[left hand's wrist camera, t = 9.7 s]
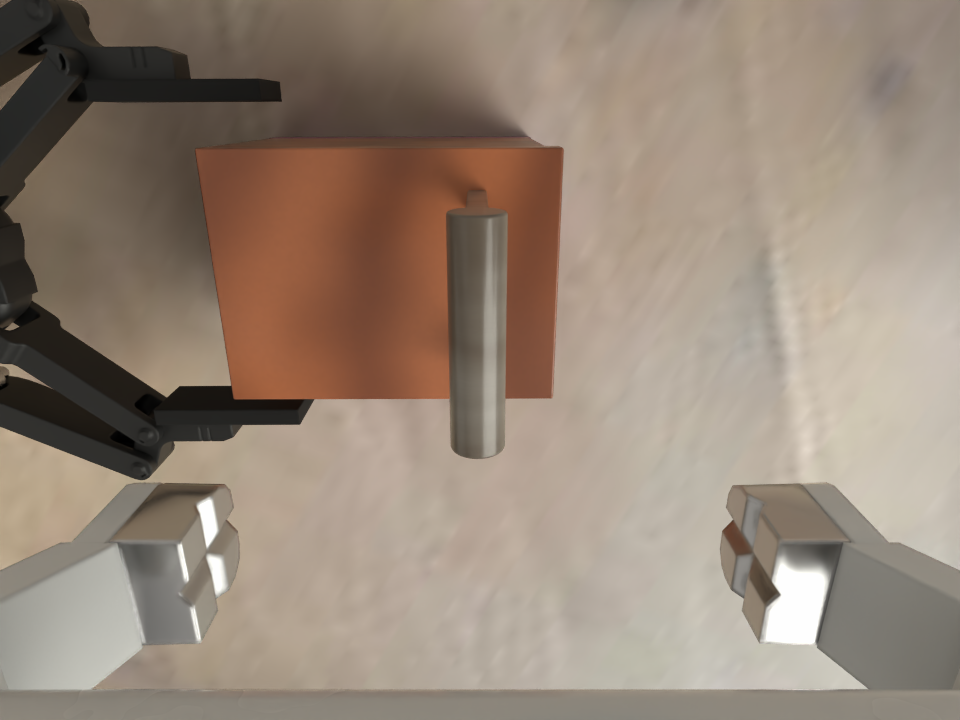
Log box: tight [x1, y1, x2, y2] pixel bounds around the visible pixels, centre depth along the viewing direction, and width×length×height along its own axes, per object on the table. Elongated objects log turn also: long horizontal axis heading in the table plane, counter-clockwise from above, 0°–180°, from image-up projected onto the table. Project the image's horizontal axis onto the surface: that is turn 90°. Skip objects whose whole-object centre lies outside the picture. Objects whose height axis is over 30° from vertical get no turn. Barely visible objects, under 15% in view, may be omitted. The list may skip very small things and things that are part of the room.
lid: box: [195, 146, 564, 459], centre depth 22 cm, size 13×10×8 cm
